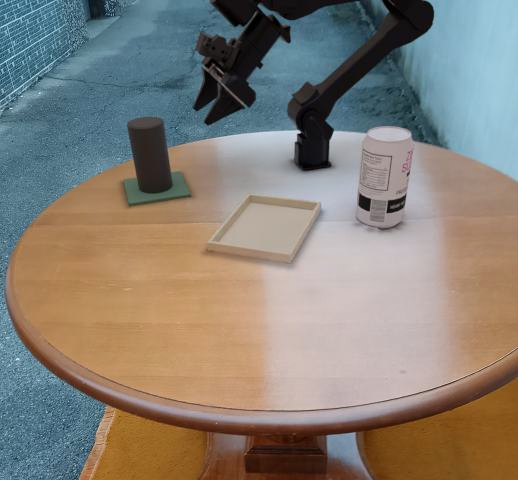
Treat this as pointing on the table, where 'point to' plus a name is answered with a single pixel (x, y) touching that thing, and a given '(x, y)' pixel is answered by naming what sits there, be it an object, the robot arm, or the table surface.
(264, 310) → the table surface
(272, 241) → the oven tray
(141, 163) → the dark grey cylinder
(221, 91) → the robot arm
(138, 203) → the plate
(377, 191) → the supplement can
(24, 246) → the table surface
